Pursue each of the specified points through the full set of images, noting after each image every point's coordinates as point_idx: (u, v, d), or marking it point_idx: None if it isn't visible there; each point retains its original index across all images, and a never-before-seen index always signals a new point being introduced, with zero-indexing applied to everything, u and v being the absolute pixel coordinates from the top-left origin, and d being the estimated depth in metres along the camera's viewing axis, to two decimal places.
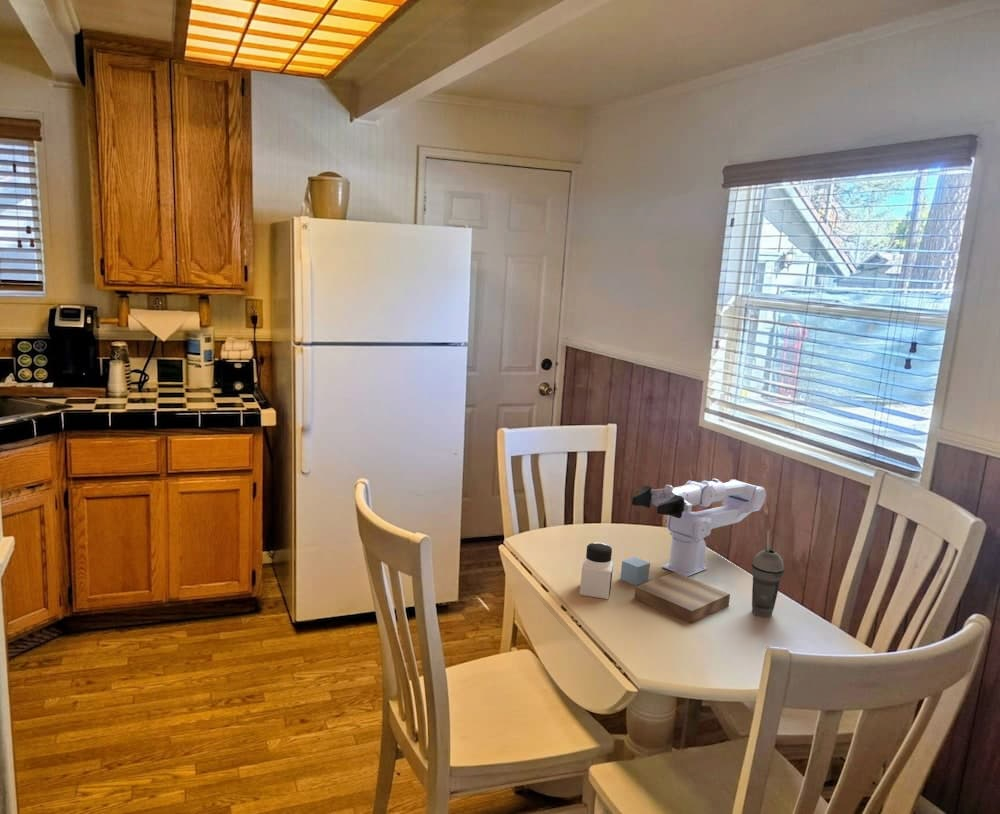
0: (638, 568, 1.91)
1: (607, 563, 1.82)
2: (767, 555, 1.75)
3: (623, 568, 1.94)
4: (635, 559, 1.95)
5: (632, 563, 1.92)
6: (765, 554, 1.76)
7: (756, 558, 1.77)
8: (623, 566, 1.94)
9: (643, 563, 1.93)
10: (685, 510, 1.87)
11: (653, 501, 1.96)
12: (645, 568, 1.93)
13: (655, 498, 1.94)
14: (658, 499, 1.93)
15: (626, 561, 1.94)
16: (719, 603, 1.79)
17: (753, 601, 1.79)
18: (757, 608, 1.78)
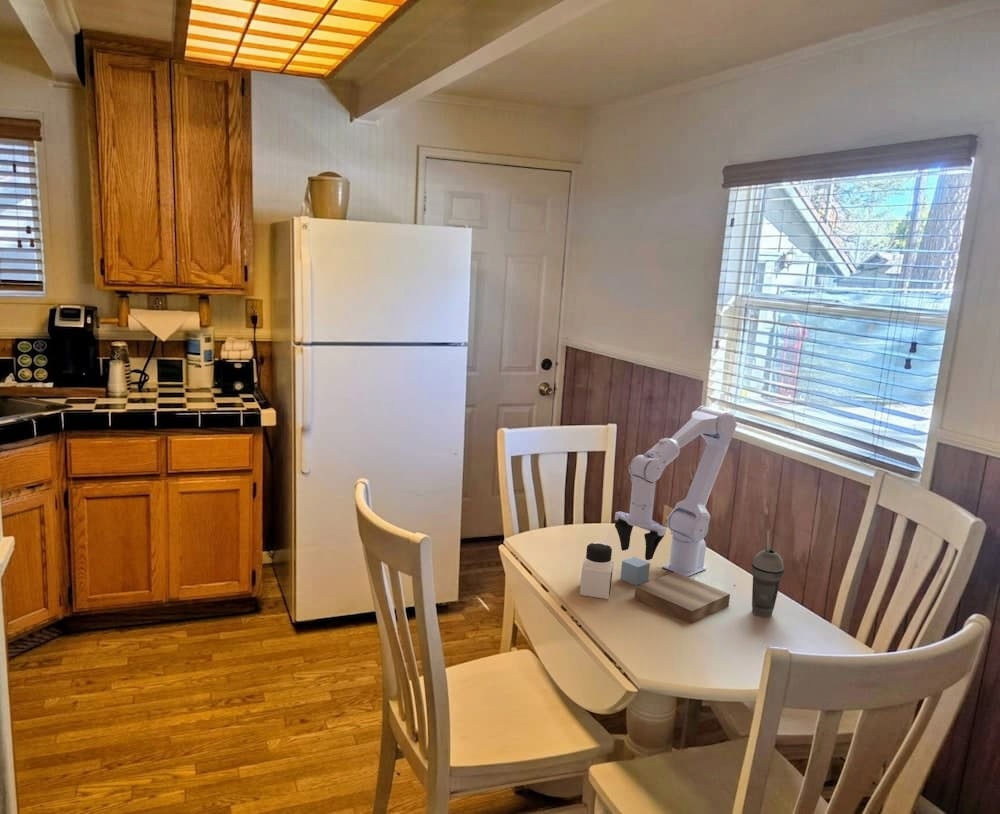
0: (638, 568, 1.91)
1: (607, 563, 1.82)
2: (767, 555, 1.75)
3: (623, 568, 1.94)
4: (635, 559, 1.95)
5: (632, 563, 1.92)
6: (765, 554, 1.76)
7: (756, 558, 1.77)
8: (623, 566, 1.94)
9: (643, 563, 1.93)
10: None
11: None
12: (645, 568, 1.93)
13: None
14: None
15: (626, 561, 1.94)
16: (719, 603, 1.79)
17: (753, 601, 1.79)
18: (757, 608, 1.78)
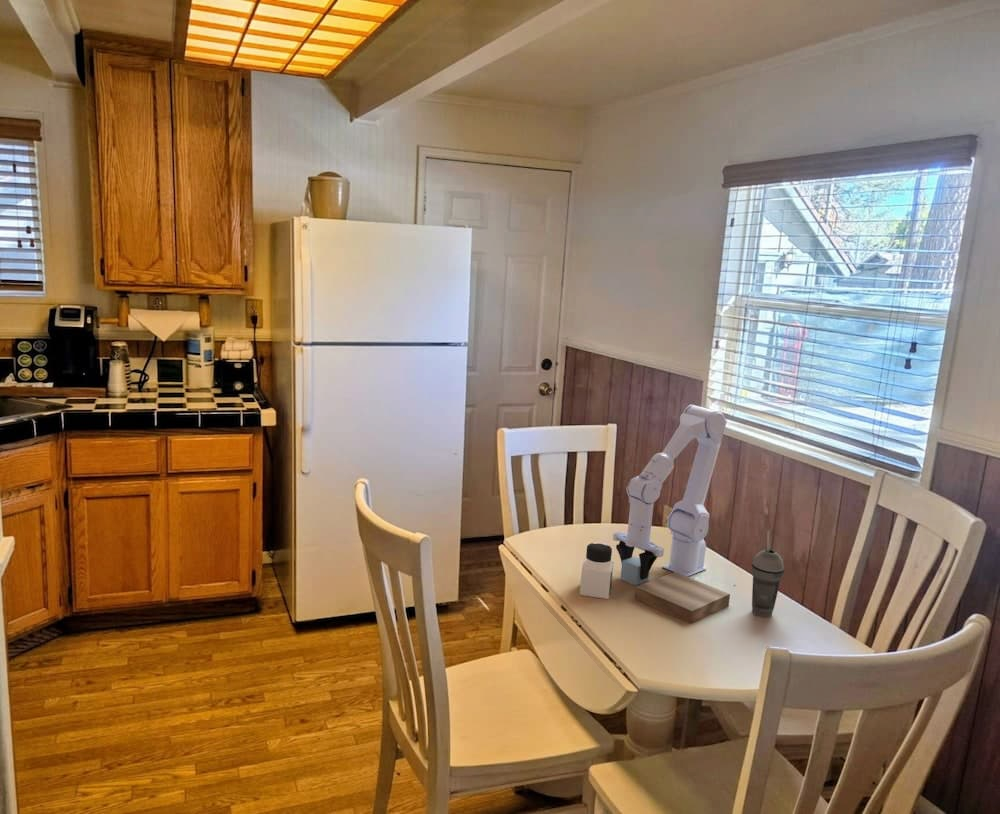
0: (638, 568, 1.91)
1: (607, 563, 1.82)
2: (767, 555, 1.75)
3: (623, 568, 1.94)
4: (635, 559, 1.95)
5: (632, 563, 1.92)
6: (765, 554, 1.76)
7: (756, 558, 1.77)
8: (623, 566, 1.94)
9: None
10: None
11: None
12: None
13: None
14: None
15: (626, 561, 1.94)
16: (719, 603, 1.79)
17: (753, 601, 1.79)
18: (757, 608, 1.78)
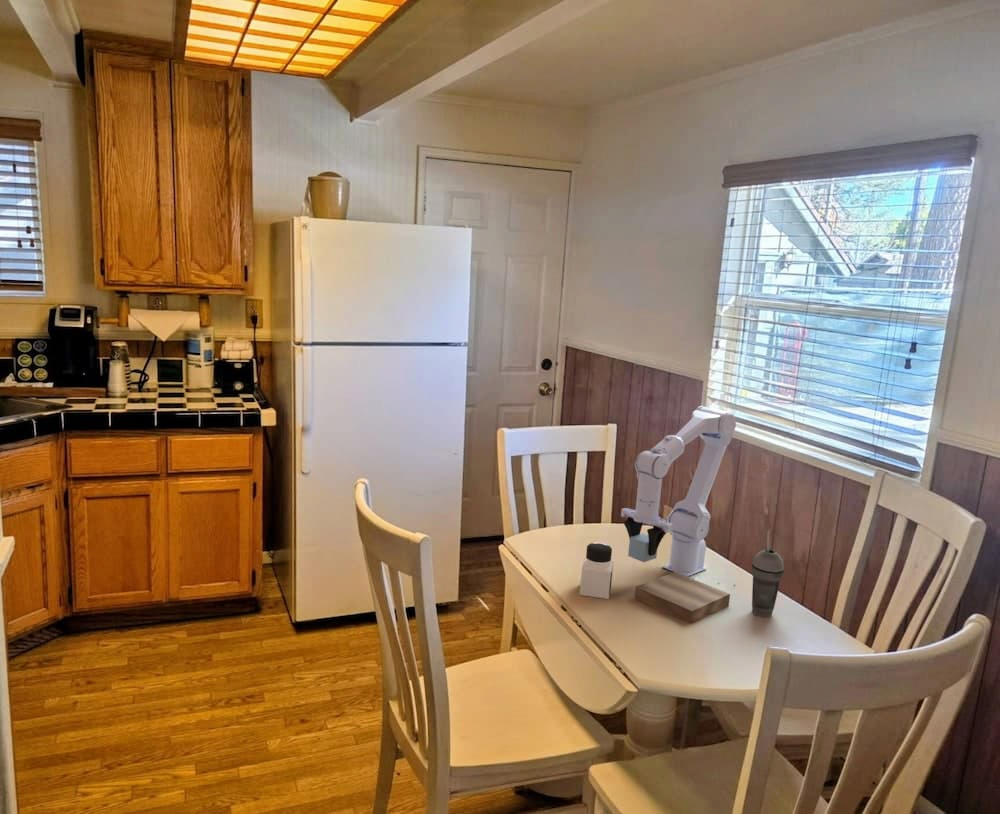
0: (646, 544, 1.88)
1: (607, 563, 1.82)
2: (767, 555, 1.75)
3: (631, 544, 1.91)
4: (643, 535, 1.93)
5: (640, 539, 1.90)
6: (765, 554, 1.76)
7: (756, 558, 1.77)
8: (631, 543, 1.91)
9: None
10: None
11: None
12: None
13: None
14: (640, 521, 1.91)
15: (634, 537, 1.91)
16: (719, 603, 1.79)
17: (753, 601, 1.79)
18: (757, 608, 1.78)
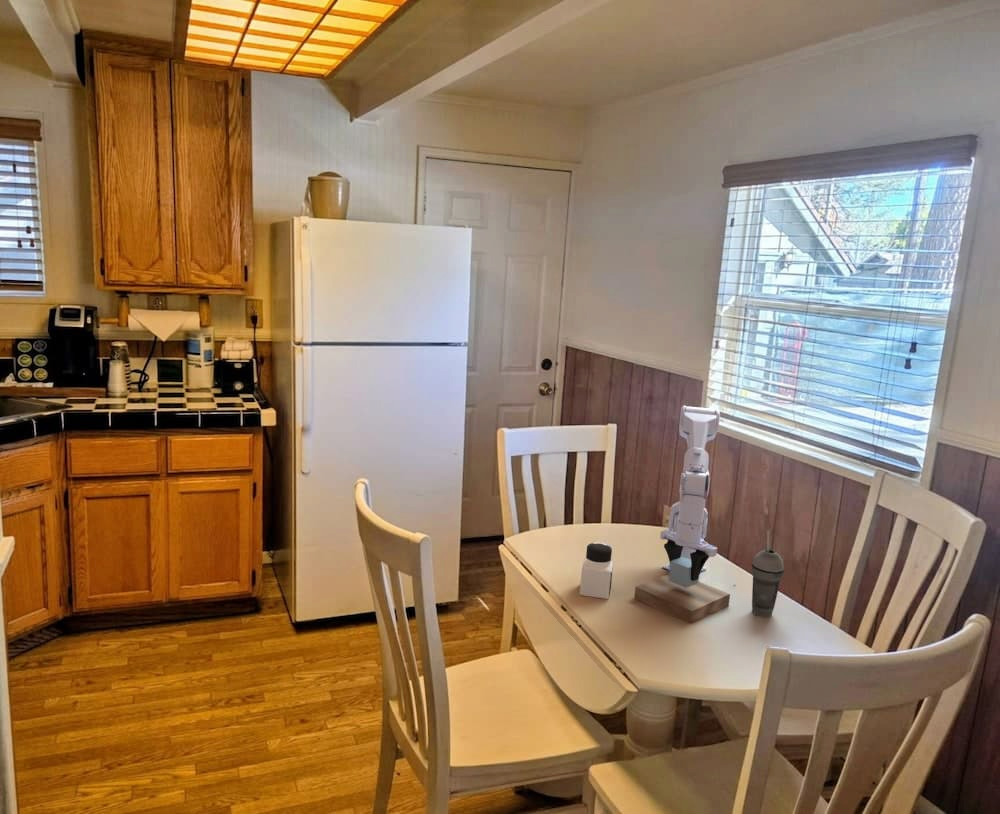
0: (688, 569, 1.78)
1: (607, 563, 1.82)
2: (767, 555, 1.75)
3: (671, 569, 1.81)
4: (684, 559, 1.83)
5: (682, 564, 1.80)
6: (765, 554, 1.76)
7: (756, 558, 1.77)
8: (672, 567, 1.81)
9: None
10: None
11: None
12: None
13: None
14: None
15: (675, 561, 1.81)
16: (719, 603, 1.79)
17: (753, 601, 1.79)
18: (757, 608, 1.78)
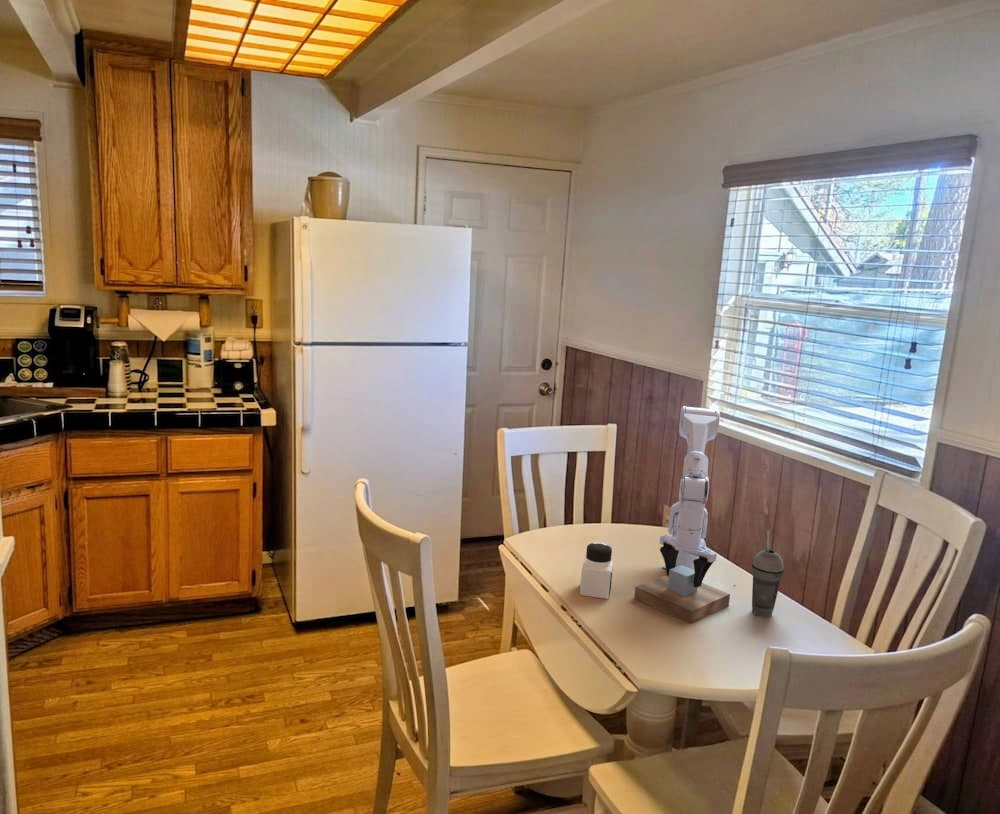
0: (687, 577, 1.78)
1: (607, 563, 1.82)
2: (767, 555, 1.75)
3: (670, 577, 1.82)
4: (683, 567, 1.83)
5: (681, 572, 1.80)
6: (765, 554, 1.76)
7: (756, 558, 1.77)
8: (671, 575, 1.81)
9: (692, 572, 1.81)
10: None
11: None
12: None
13: None
14: None
15: (674, 570, 1.82)
16: (719, 603, 1.79)
17: (753, 601, 1.79)
18: (757, 608, 1.78)
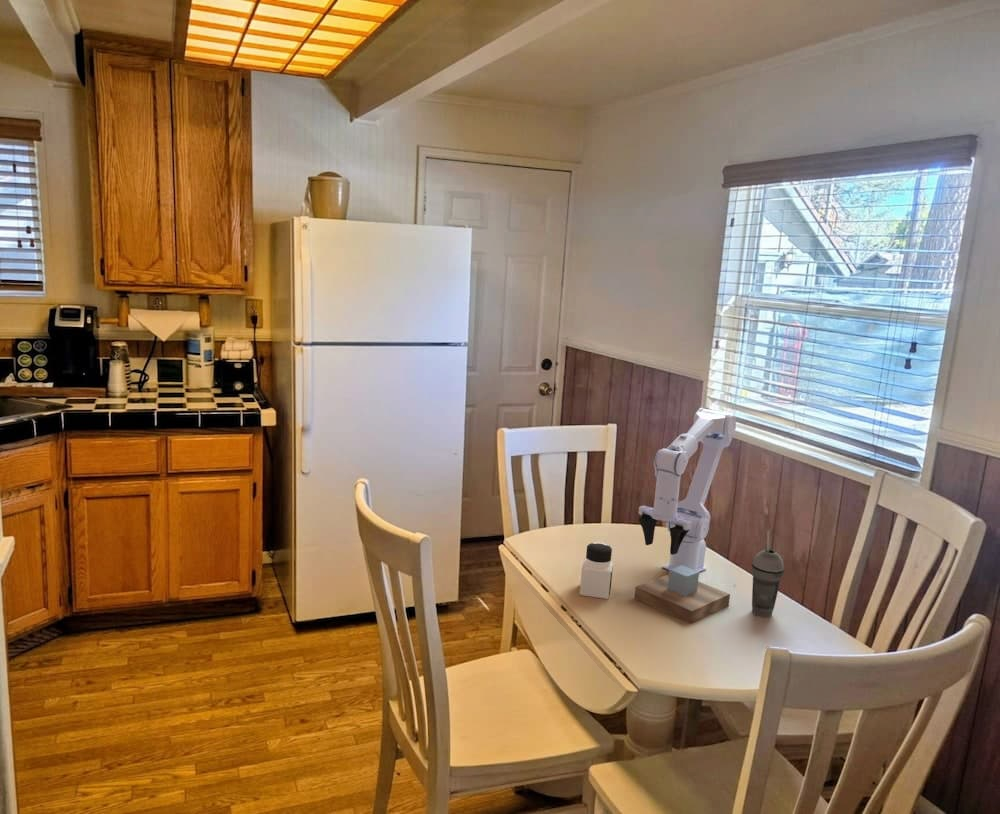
0: (687, 577, 1.78)
1: (607, 563, 1.82)
2: (767, 555, 1.75)
3: (670, 577, 1.82)
4: (683, 567, 1.83)
5: (681, 572, 1.80)
6: (765, 554, 1.76)
7: (756, 558, 1.77)
8: (671, 575, 1.81)
9: (692, 572, 1.81)
10: None
11: None
12: (694, 577, 1.81)
13: None
14: None
15: (674, 570, 1.82)
16: (719, 603, 1.79)
17: (753, 601, 1.79)
18: (757, 608, 1.78)
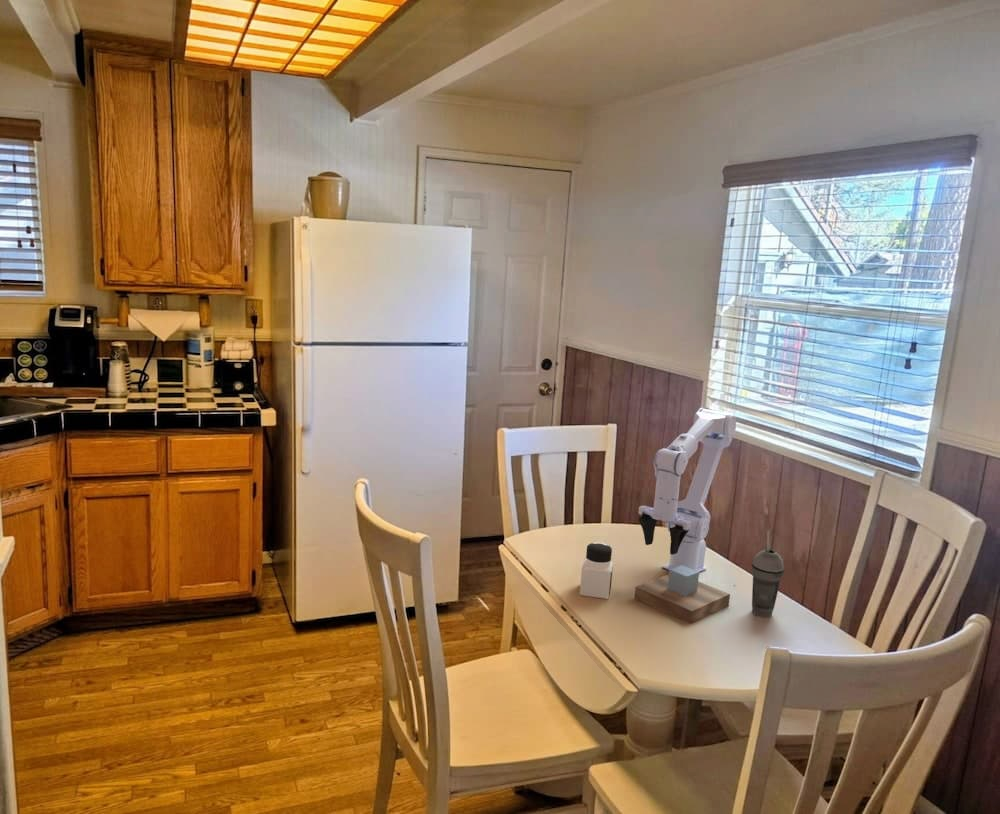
0: (687, 577, 1.78)
1: (607, 563, 1.82)
2: (767, 555, 1.75)
3: (670, 577, 1.82)
4: (683, 567, 1.83)
5: (681, 572, 1.80)
6: (765, 554, 1.76)
7: (756, 558, 1.77)
8: (671, 575, 1.81)
9: (692, 572, 1.81)
10: None
11: None
12: (694, 577, 1.81)
13: None
14: None
15: (674, 570, 1.82)
16: (719, 603, 1.79)
17: (753, 601, 1.79)
18: (757, 608, 1.78)
